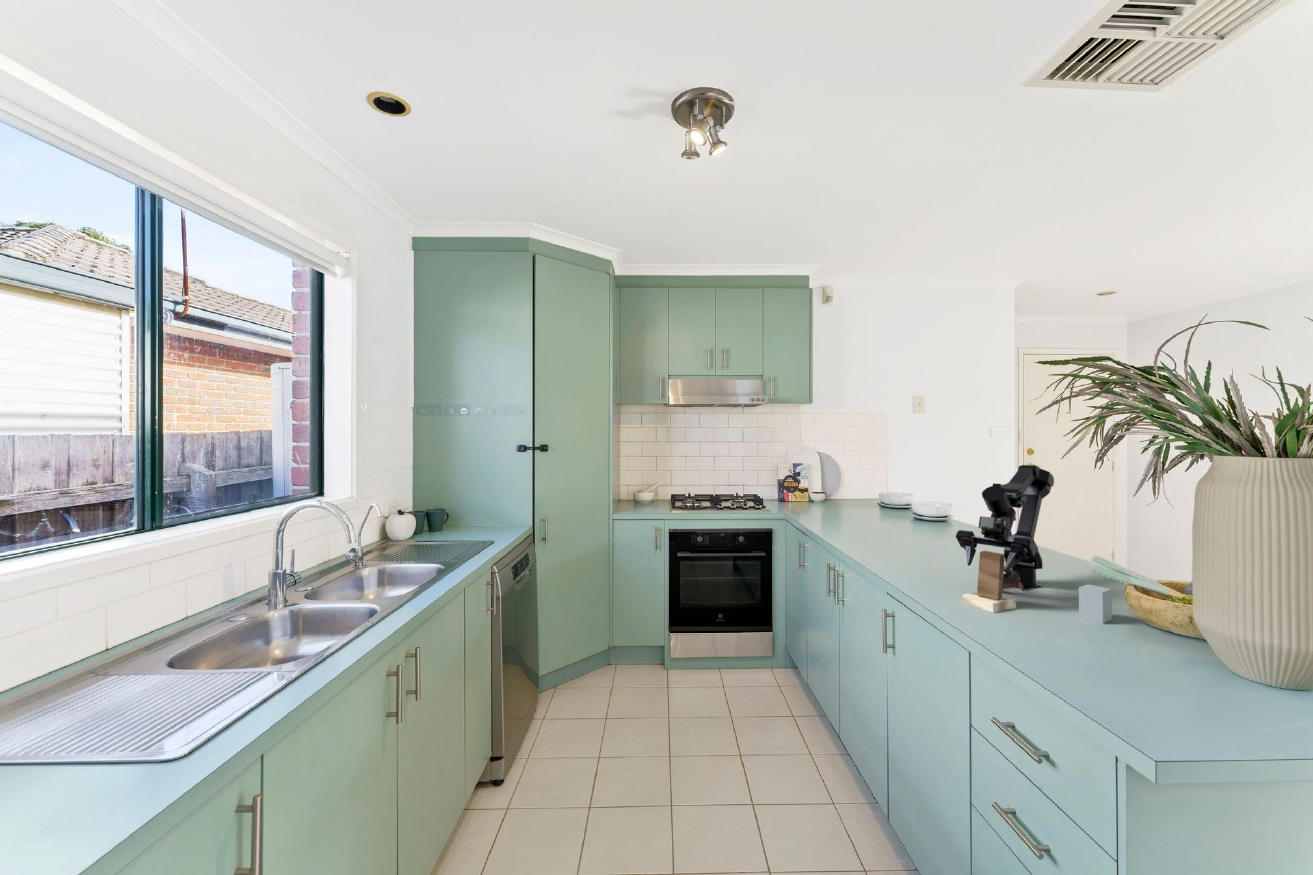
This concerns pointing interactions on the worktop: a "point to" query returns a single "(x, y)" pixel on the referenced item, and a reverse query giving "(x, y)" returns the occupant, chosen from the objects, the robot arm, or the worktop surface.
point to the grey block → (1095, 603)
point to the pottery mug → (1012, 580)
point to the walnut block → (990, 574)
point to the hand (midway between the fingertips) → (986, 567)
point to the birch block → (989, 602)
